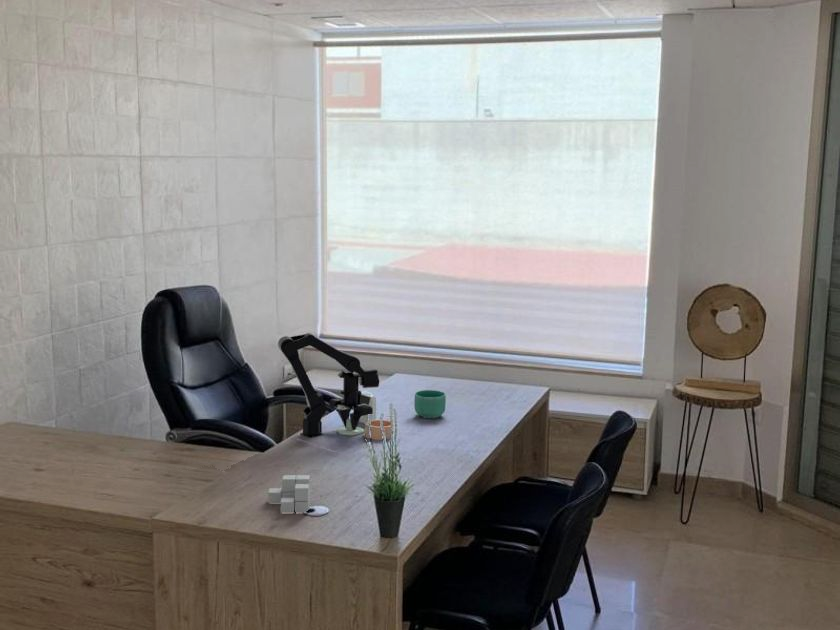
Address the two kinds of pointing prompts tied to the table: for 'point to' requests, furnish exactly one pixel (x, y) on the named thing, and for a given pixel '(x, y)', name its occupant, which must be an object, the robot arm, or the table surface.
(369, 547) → the table surface
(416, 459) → the table surface
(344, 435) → the mat
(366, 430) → the bowl
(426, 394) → the mug
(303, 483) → the puzzle cube
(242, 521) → the table surface
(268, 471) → the table surface
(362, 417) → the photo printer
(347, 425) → the lid
